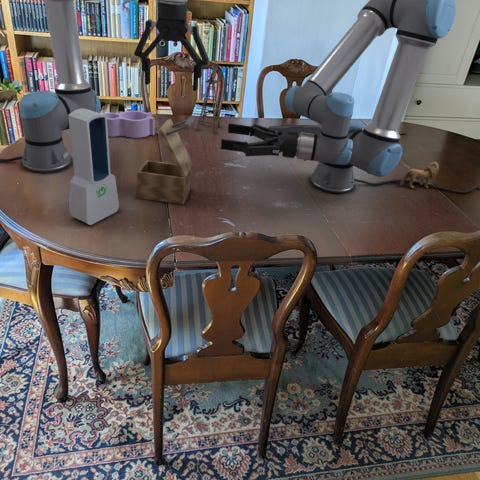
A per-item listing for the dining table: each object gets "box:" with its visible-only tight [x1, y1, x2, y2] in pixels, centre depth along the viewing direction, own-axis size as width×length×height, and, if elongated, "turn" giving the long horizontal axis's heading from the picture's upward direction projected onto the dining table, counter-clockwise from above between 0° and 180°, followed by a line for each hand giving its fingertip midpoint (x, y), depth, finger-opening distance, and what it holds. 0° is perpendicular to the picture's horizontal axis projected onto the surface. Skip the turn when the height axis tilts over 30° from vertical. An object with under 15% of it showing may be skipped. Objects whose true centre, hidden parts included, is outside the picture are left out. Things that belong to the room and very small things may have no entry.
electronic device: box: [68, 109, 120, 226], centre depth 127 cm, size 12×8×30 cm, turn 148°
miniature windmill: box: [196, 58, 221, 133], centre depth 195 cm, size 9×8×30 cm
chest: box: [136, 159, 192, 205], centre depth 147 cm, size 15×10×9 cm
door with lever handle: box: [158, 115, 196, 177], centre depth 139 cm, size 16×10×9 cm
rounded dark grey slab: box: [268, 124, 322, 136], centre depth 189 cm, size 23×3×10 cm, turn 108°
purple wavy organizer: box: [102, 110, 156, 139], centre depth 189 cm, size 20×12×7 cm, turn 109°
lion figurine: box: [399, 161, 440, 189], centre depth 170 cm, size 15×5×9 cm, turn 110°
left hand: (171, 86), depth 131 cm, fingers open, 13 cm apart
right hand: (224, 135), depth 136 cm, fingers open, 13 cm apart
